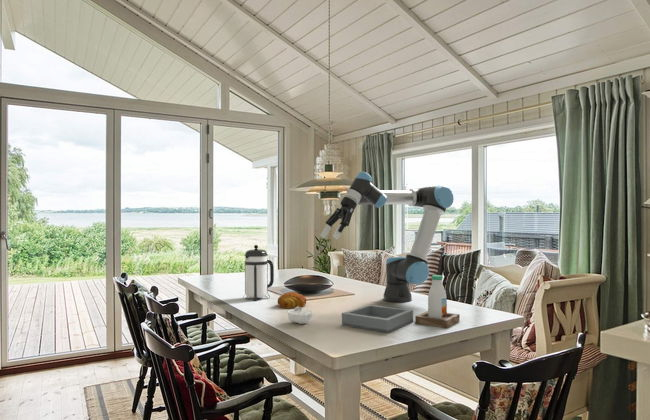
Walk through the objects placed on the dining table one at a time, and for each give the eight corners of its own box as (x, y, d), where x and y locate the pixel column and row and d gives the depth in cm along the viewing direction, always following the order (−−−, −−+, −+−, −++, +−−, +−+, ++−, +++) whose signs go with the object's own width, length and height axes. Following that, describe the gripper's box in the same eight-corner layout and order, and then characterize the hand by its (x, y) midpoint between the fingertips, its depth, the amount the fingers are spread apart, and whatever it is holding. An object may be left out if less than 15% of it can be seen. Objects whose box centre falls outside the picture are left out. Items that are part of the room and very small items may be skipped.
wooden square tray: (429, 317, 202) (428, 310, 202) (459, 321, 193) (459, 314, 193) (415, 323, 191) (415, 316, 191) (447, 328, 182) (447, 320, 182)
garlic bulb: (294, 327, 186) (294, 311, 186) (284, 321, 197) (284, 306, 197) (316, 324, 190) (316, 308, 190) (305, 319, 201) (305, 303, 201)
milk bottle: (436, 325, 187) (436, 277, 187) (424, 321, 194) (423, 275, 194) (450, 323, 190) (450, 275, 190) (438, 319, 197) (437, 273, 197)
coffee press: (269, 301, 244) (269, 245, 244) (240, 301, 244) (240, 245, 244) (274, 295, 261) (273, 243, 261) (246, 295, 261) (246, 243, 262)
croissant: (273, 312, 226) (272, 297, 225) (286, 302, 241) (284, 287, 240) (300, 313, 221) (299, 297, 220) (311, 302, 236) (310, 288, 235)
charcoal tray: (369, 315, 207) (369, 304, 207) (413, 321, 193) (412, 310, 193) (341, 325, 189) (341, 313, 189) (388, 333, 176) (388, 320, 176)
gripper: (333, 197, 227) (311, 232, 221) (357, 194, 204) (334, 233, 198) (344, 205, 229) (323, 240, 224) (369, 204, 206) (346, 242, 201)
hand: (328, 237), depth 211 cm, fingers open, 13 cm apart
